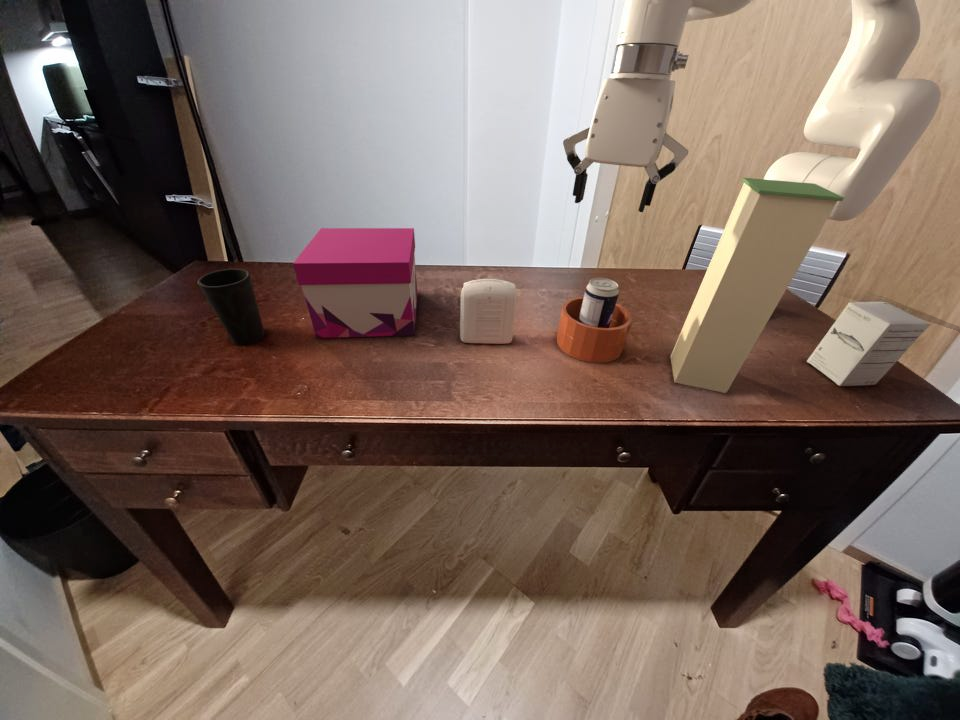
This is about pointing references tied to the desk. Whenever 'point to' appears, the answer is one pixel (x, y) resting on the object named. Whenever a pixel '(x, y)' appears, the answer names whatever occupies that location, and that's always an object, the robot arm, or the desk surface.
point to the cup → (234, 304)
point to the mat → (791, 189)
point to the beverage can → (599, 303)
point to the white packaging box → (866, 342)
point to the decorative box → (360, 281)
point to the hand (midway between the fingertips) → (609, 205)
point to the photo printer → (487, 311)
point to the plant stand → (744, 284)
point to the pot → (592, 334)
